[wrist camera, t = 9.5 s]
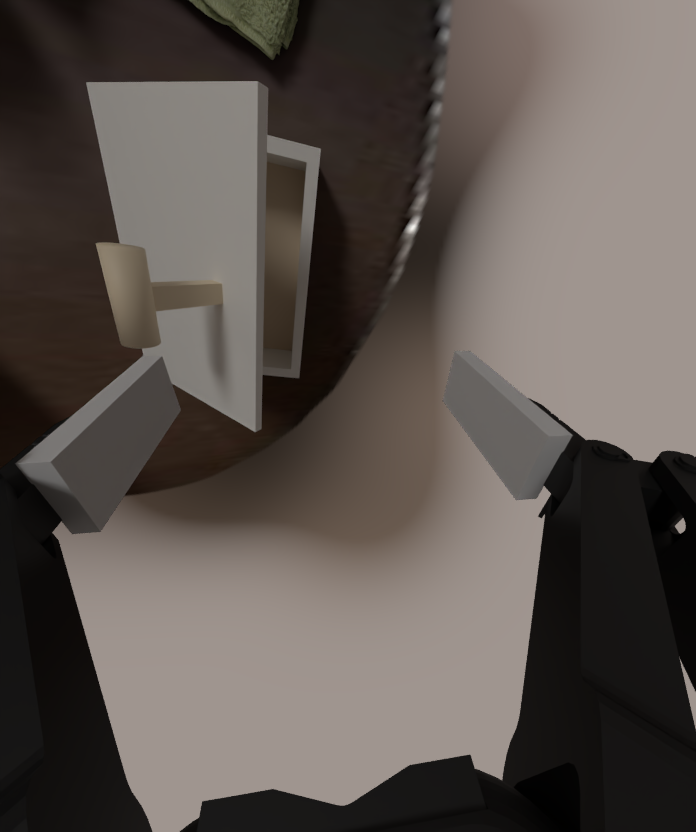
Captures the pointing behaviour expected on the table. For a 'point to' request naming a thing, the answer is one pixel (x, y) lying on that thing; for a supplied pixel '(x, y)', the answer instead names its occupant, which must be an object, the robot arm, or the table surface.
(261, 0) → the washcloth
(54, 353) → the table surface
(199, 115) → the lid
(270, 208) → the box
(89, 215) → the table surface
